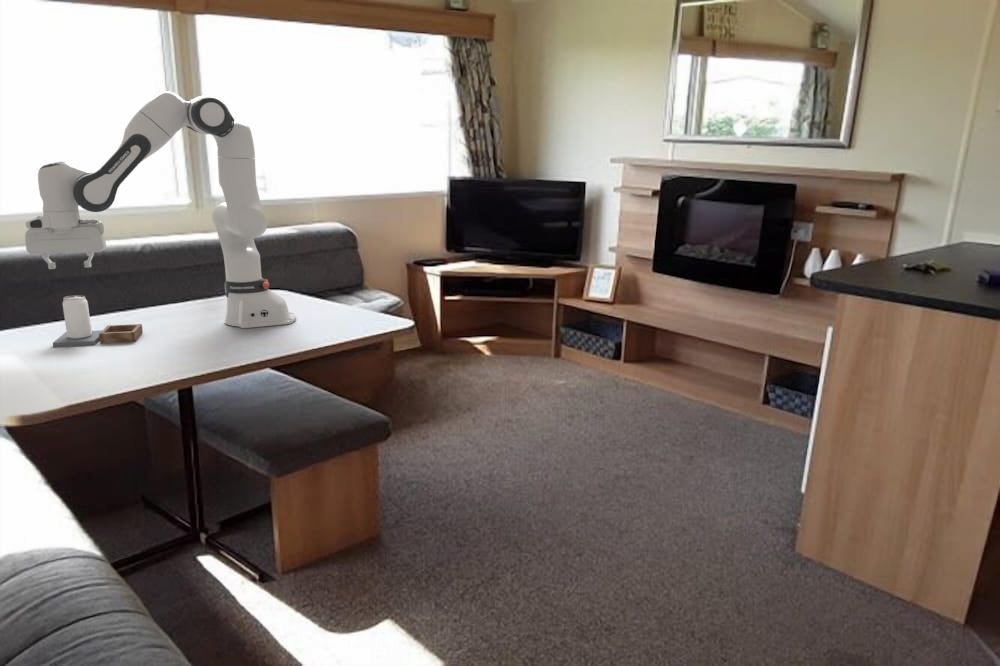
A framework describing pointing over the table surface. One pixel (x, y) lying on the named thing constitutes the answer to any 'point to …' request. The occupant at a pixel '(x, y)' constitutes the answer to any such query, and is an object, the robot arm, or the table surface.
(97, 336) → the coaster
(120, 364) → the table surface
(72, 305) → the can
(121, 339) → the square wooden frame
